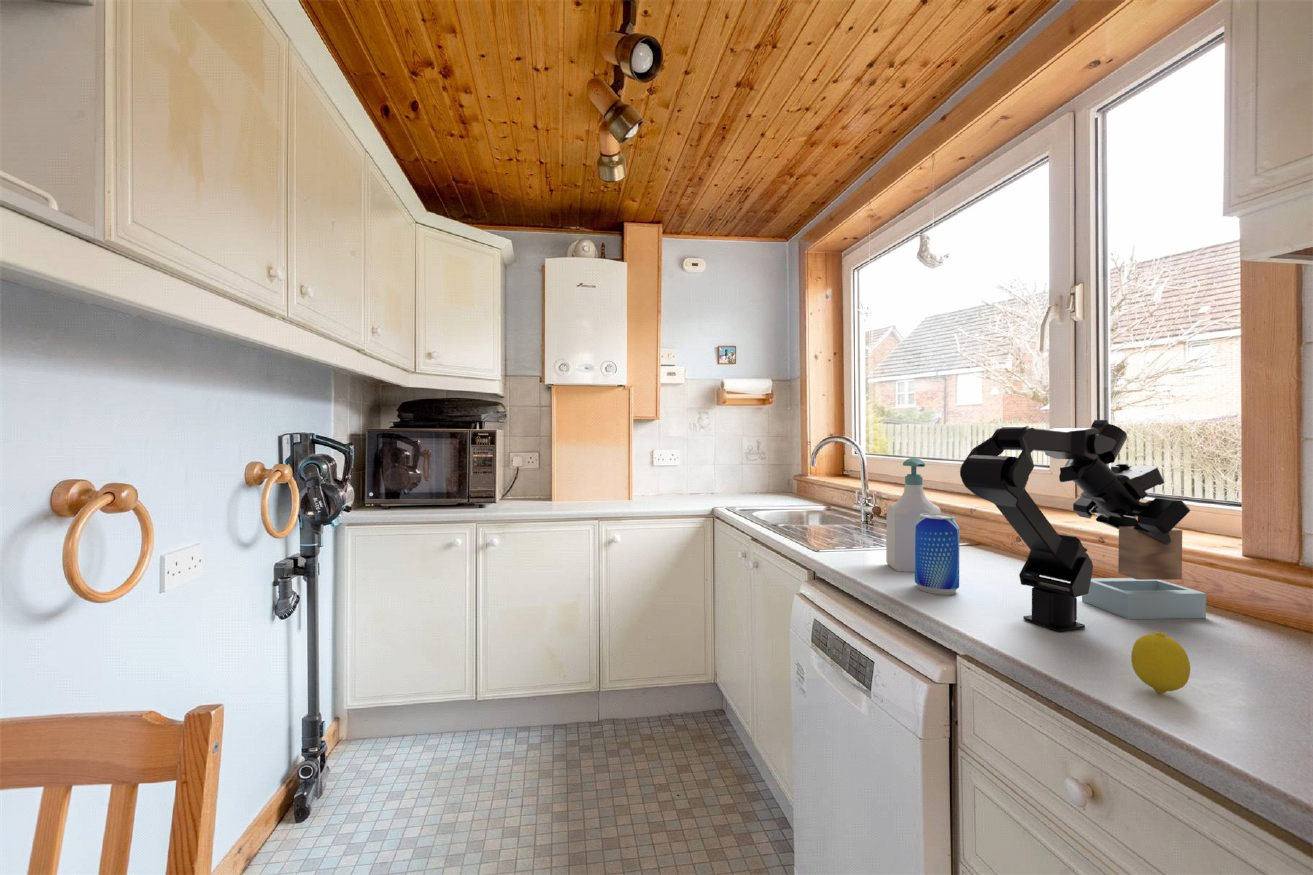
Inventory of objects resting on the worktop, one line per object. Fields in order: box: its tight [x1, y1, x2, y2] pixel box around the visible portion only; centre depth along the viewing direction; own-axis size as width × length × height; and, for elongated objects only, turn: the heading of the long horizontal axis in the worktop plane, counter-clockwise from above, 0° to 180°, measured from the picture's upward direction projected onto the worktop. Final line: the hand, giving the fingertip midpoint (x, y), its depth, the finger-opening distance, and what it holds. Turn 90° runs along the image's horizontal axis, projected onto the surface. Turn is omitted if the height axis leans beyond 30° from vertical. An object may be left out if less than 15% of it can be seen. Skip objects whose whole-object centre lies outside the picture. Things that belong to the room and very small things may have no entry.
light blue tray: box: [1081, 577, 1207, 620], centre depth 100 cm, size 14×10×4 cm
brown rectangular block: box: [1117, 526, 1183, 581], centre depth 97 cm, size 8×4×9 cm, turn 90°
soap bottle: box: [885, 457, 942, 573], centre depth 129 cm, size 11×8×27 cm
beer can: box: [914, 513, 960, 596], centre depth 112 cm, size 8×8×16 cm
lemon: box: [1130, 631, 1191, 694], centre depth 68 cm, size 6×6×8 cm
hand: (1157, 540), depth 97 cm, fingers closed on brown rectangular block, 4 cm apart
